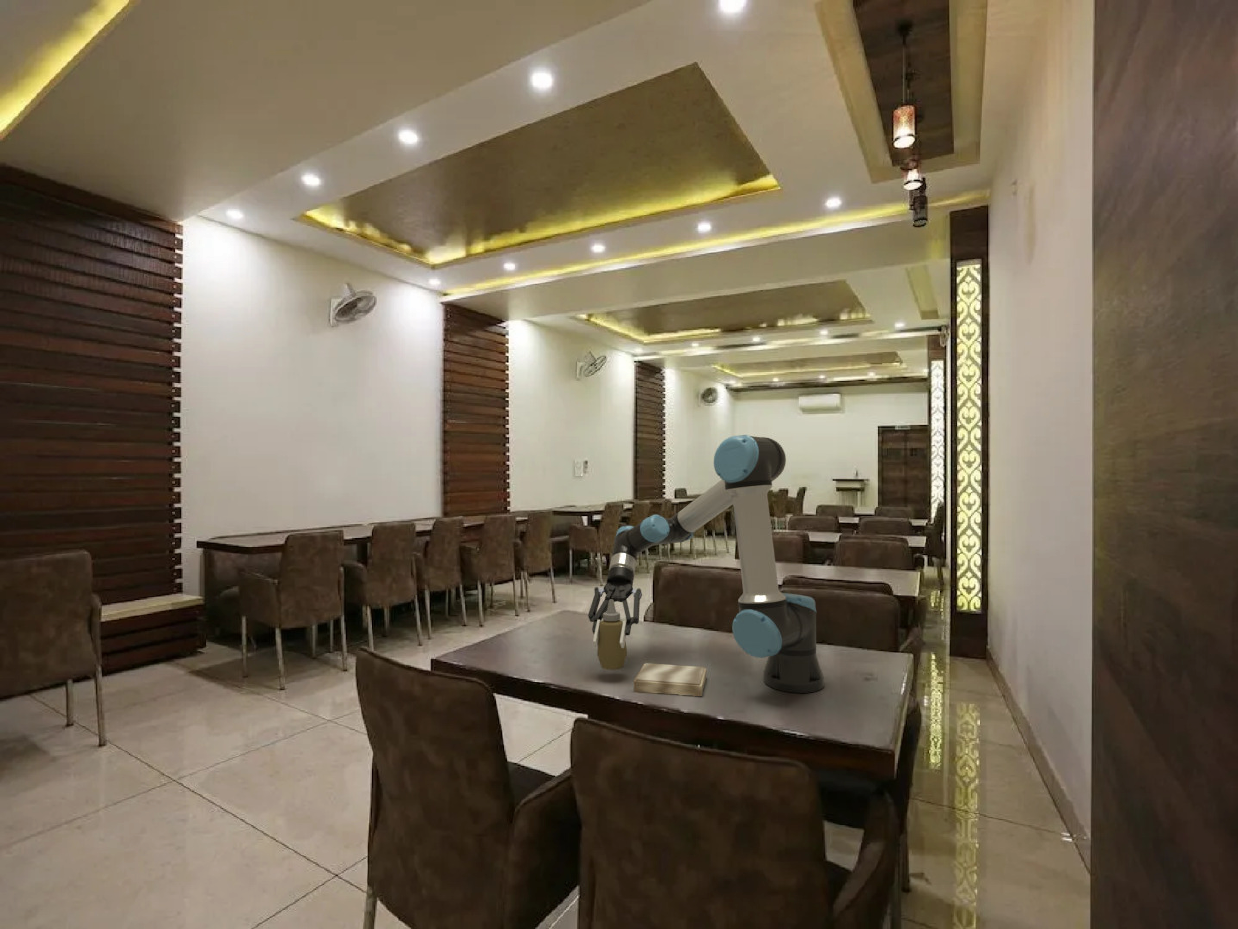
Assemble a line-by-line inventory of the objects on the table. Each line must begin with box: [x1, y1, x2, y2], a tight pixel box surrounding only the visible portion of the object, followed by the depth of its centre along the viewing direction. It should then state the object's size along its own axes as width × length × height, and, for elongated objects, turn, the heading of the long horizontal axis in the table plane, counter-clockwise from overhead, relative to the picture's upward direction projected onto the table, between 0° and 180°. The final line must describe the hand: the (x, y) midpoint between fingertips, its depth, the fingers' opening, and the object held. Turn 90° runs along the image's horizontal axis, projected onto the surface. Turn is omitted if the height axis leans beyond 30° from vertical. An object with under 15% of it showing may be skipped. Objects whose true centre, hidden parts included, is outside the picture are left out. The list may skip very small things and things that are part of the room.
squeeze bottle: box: [596, 599, 628, 671], centre depth 158 cm, size 8×8×18 cm
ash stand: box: [633, 662, 707, 697], centre depth 153 cm, size 17×14×3 cm
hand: (608, 644), depth 154 cm, fingers closed on squeeze bottle, 6 cm apart
